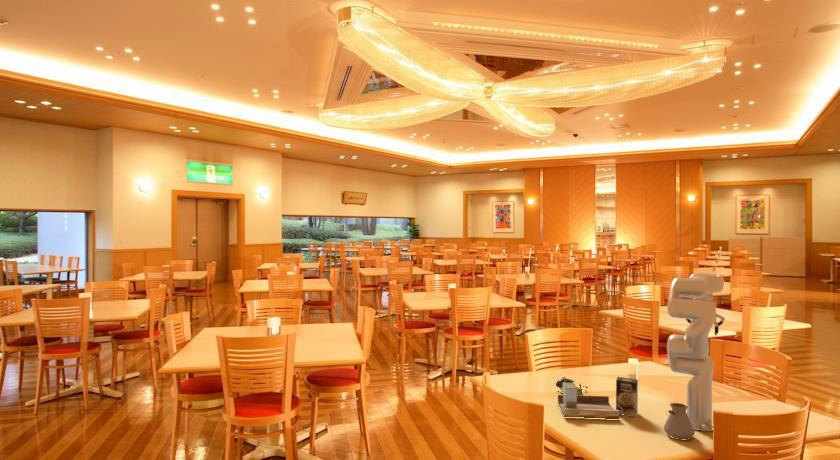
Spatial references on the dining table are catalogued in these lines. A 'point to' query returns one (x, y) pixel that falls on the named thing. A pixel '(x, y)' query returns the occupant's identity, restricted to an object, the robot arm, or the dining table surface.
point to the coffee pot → (678, 422)
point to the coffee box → (627, 396)
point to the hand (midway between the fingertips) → (704, 333)
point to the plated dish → (560, 385)
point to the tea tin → (569, 395)
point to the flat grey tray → (590, 407)
